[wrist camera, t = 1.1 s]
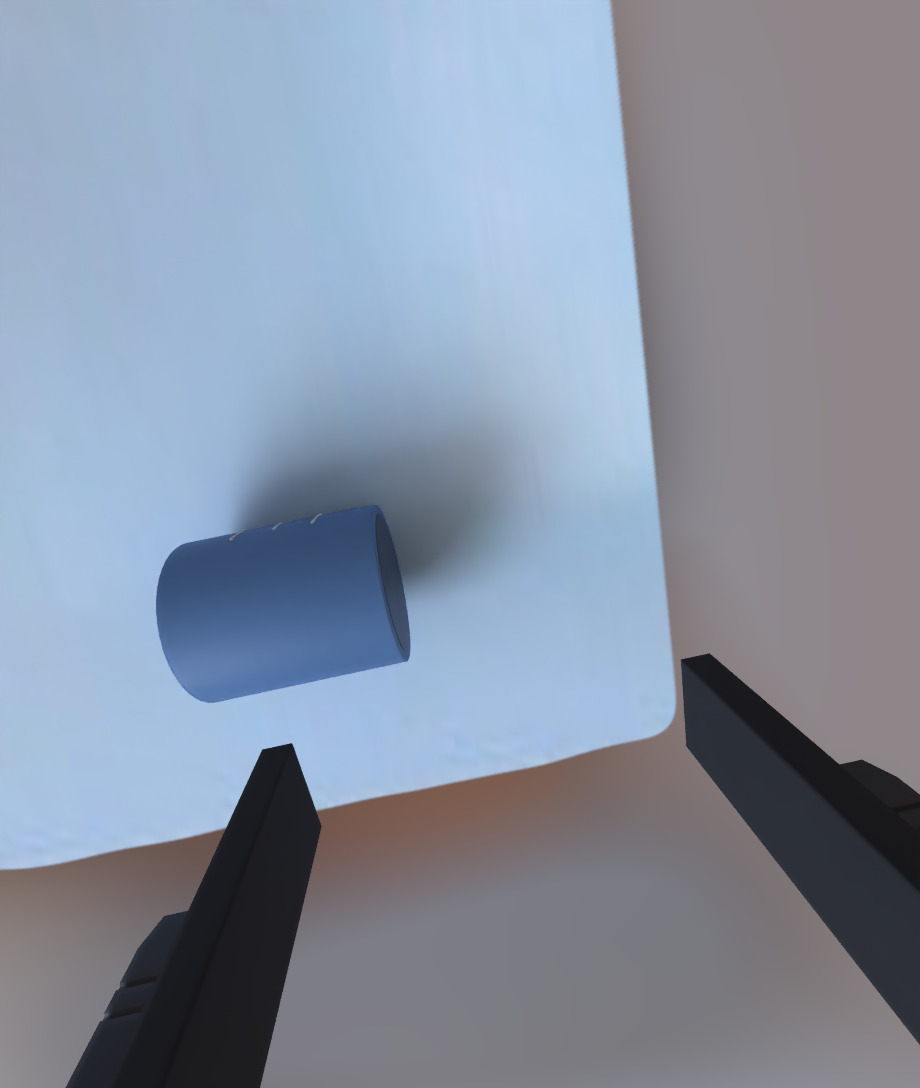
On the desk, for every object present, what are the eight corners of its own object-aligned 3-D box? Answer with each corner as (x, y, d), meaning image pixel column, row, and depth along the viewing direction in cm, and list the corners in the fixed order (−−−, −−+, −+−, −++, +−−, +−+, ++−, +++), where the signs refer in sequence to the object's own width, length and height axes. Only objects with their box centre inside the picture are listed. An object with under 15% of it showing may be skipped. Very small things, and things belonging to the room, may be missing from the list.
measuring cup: (257, 652, 30) (198, 739, 22) (214, 526, 28) (129, 571, 20) (412, 620, 31) (409, 693, 22) (381, 492, 28) (365, 522, 20)
